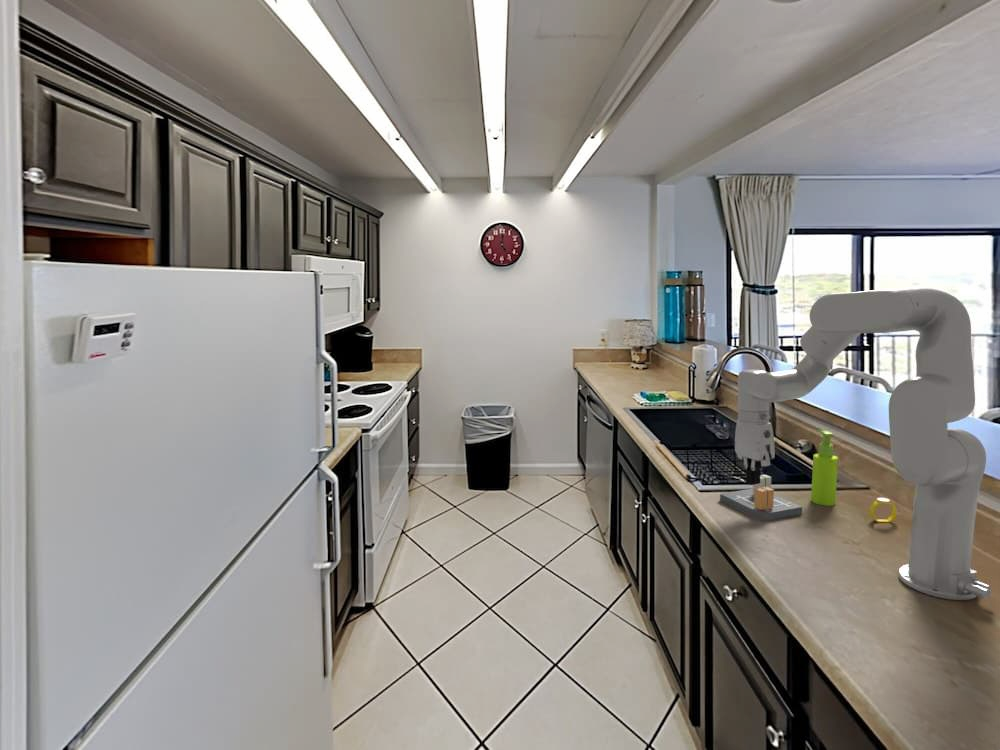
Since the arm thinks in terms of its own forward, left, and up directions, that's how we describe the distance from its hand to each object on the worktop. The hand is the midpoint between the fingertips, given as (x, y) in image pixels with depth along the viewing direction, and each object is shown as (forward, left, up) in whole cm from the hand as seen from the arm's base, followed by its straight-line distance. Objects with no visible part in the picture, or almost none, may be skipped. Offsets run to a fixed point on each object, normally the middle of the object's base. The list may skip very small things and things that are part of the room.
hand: (753, 483), depth 150 cm
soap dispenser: (-2, -22, -8) cm, 24 cm away
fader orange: (-4, 0, -5) cm, 7 cm away
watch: (-18, -24, -8) cm, 31 cm away
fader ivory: (+4, -7, -5) cm, 10 cm away
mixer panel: (+1, -3, -8) cm, 8 cm away
